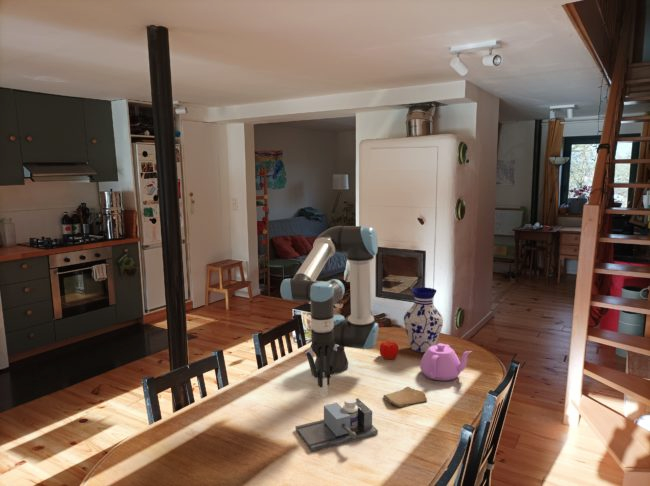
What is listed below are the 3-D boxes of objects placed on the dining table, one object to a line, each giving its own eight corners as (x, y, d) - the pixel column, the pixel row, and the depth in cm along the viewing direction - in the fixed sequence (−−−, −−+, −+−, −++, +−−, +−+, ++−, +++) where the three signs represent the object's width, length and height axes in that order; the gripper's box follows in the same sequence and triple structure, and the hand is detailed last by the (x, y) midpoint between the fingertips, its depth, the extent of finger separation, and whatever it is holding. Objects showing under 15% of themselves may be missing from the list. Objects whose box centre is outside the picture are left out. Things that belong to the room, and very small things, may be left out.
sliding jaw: (323, 421, 162) (323, 405, 161) (336, 418, 164) (336, 402, 163) (347, 448, 146) (347, 430, 145) (361, 444, 148) (361, 426, 147)
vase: (395, 349, 233) (396, 290, 228) (416, 339, 246) (417, 283, 242) (429, 359, 220) (431, 297, 215) (449, 348, 234) (451, 289, 229)
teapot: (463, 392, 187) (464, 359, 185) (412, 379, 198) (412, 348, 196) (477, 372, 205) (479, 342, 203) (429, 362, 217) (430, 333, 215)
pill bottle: (341, 420, 163) (341, 396, 162) (356, 420, 163) (356, 396, 162) (343, 429, 158) (343, 404, 156) (359, 428, 158) (359, 403, 157)
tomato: (385, 352, 229) (385, 337, 228) (401, 356, 224) (401, 341, 223) (375, 358, 221) (375, 343, 220) (392, 363, 216) (392, 347, 215)
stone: (428, 402, 179) (428, 394, 179) (392, 410, 174) (393, 401, 173) (412, 390, 190) (412, 383, 189) (378, 397, 184) (378, 389, 183)
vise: (295, 430, 160) (295, 409, 159) (357, 415, 170) (357, 395, 169) (311, 452, 147) (311, 429, 146) (377, 434, 157) (377, 413, 156)
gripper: (308, 335, 150) (310, 404, 154) (345, 329, 155) (345, 395, 160) (300, 328, 157) (302, 393, 161) (335, 322, 162) (336, 385, 166)
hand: (323, 394), depth 160 cm, fingers closed
